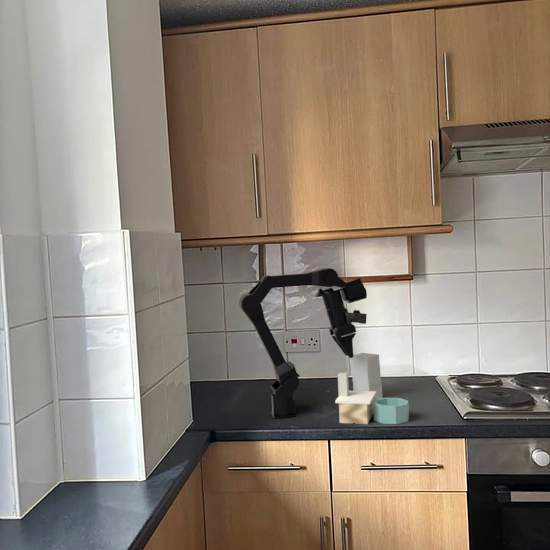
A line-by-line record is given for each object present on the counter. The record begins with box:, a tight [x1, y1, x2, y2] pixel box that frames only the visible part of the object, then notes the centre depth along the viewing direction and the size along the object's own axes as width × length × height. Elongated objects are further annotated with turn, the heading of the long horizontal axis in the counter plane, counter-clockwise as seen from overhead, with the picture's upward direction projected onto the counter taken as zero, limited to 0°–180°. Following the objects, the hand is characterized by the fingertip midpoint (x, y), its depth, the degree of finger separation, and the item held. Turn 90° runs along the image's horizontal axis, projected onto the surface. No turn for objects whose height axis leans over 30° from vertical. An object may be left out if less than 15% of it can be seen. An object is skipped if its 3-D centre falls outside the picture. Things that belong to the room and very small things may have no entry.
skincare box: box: [350, 352, 384, 402], centre depth 195 cm, size 8×6×15 cm
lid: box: [334, 372, 376, 404], centre depth 174 cm, size 10×12×7 cm
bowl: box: [373, 397, 410, 425], centre depth 171 cm, size 10×10×5 cm
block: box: [338, 401, 374, 425], centre depth 174 cm, size 8×12×6 cm, turn 162°
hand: (349, 356), depth 181 cm, fingers open, 9 cm apart
